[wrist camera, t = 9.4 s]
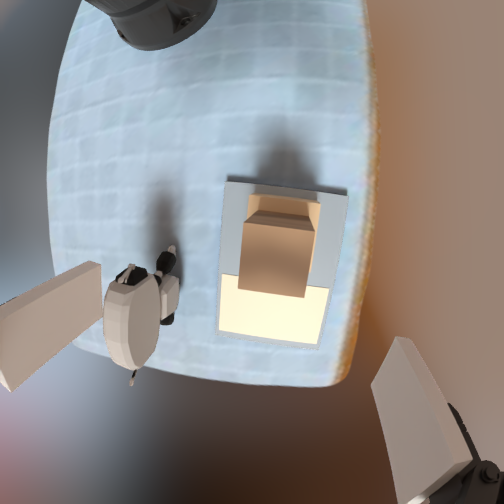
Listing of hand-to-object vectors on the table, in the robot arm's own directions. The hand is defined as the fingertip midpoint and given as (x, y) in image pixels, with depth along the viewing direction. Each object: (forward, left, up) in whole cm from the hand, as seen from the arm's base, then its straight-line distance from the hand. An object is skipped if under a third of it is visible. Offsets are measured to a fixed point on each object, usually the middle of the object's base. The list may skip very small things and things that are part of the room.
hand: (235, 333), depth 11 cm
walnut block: (0, +1, -18) cm, 18 cm away
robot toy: (+9, -13, -23) cm, 28 cm away
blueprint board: (+5, +1, -23) cm, 23 cm away
